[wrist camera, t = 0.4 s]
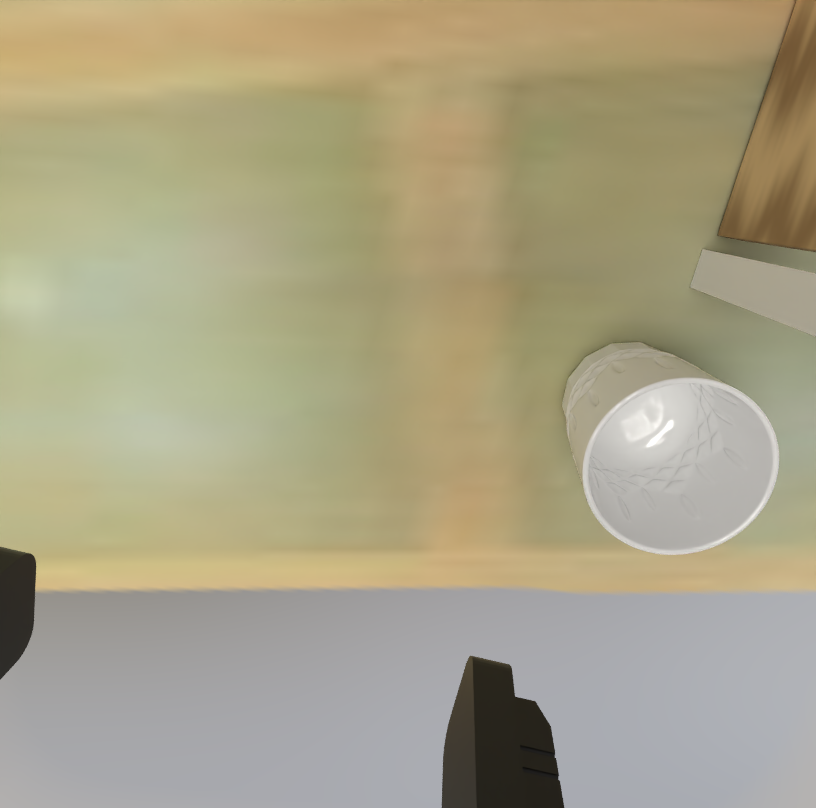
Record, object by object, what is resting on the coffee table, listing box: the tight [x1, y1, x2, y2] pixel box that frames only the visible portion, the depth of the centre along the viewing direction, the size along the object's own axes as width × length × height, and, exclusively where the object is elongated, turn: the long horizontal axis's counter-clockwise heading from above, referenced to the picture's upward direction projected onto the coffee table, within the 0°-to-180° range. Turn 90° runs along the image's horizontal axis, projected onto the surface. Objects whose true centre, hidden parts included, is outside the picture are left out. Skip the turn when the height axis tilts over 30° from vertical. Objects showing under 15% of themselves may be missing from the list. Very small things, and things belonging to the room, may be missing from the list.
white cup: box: [562, 342, 779, 555], centre depth 33 cm, size 8×8×10 cm
